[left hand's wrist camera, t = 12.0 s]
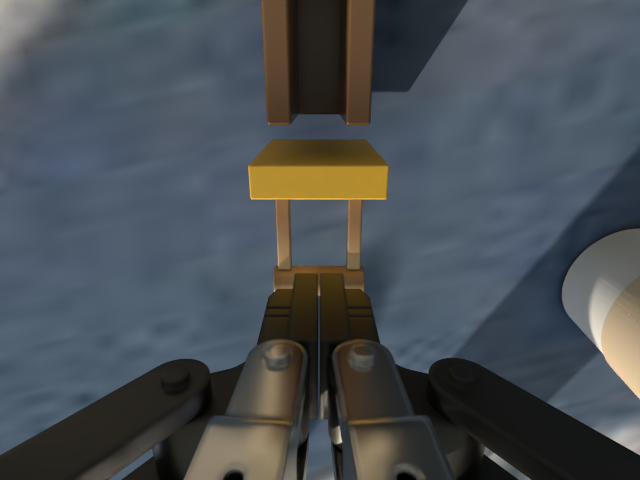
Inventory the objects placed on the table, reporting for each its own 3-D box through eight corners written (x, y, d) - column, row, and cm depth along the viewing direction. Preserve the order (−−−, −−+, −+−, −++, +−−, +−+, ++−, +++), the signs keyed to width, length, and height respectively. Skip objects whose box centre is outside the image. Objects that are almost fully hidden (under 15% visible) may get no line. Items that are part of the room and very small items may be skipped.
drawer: (361, 265, 22) (378, 338, 16) (276, 265, 22) (259, 338, 16) (384, -287, 14) (437, -599, 8) (253, -287, 14) (198, -599, 8)
